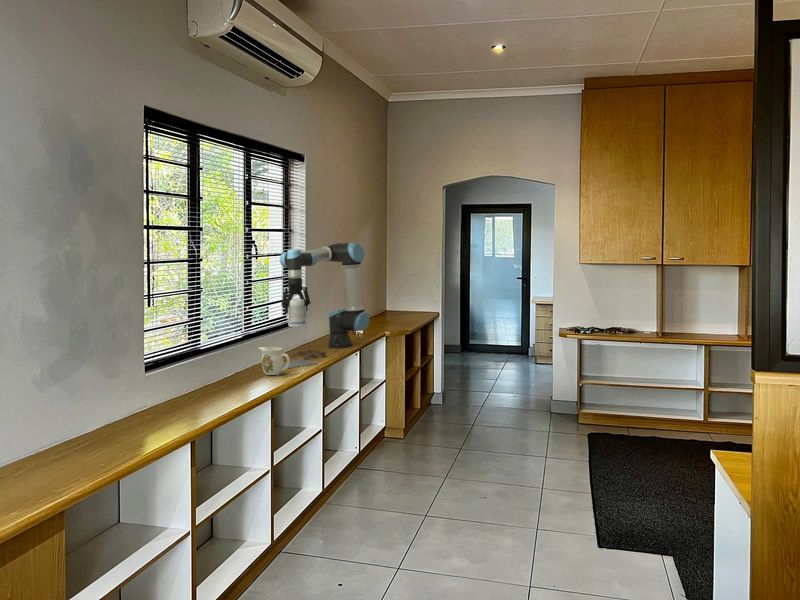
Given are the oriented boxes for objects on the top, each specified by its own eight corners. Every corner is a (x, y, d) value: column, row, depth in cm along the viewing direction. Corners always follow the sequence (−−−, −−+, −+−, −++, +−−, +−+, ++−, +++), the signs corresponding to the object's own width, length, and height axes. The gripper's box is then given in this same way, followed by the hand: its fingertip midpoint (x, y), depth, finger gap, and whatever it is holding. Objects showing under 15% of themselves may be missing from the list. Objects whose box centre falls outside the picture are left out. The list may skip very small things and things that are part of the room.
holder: (312, 353, 411) (311, 349, 410) (325, 356, 398) (325, 352, 398) (291, 356, 402) (291, 352, 402) (304, 359, 390) (304, 355, 390)
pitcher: (284, 377, 341) (283, 350, 340) (253, 376, 348) (252, 349, 347) (295, 373, 352) (294, 346, 350) (265, 372, 358) (264, 345, 357)
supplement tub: (308, 326, 381) (307, 299, 380) (292, 327, 376) (291, 300, 375) (300, 324, 389) (299, 298, 388) (285, 326, 384) (284, 300, 383)
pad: (302, 359, 390) (302, 359, 390) (318, 363, 376) (318, 363, 376) (273, 364, 379) (273, 363, 379) (289, 368, 365) (289, 367, 365)
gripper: (309, 276, 390) (310, 316, 392) (273, 278, 377) (275, 319, 379) (315, 276, 384) (317, 316, 386) (279, 278, 371) (281, 320, 373)
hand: (296, 318), depth 382 cm, fingers closed on supplement tub, 9 cm apart
